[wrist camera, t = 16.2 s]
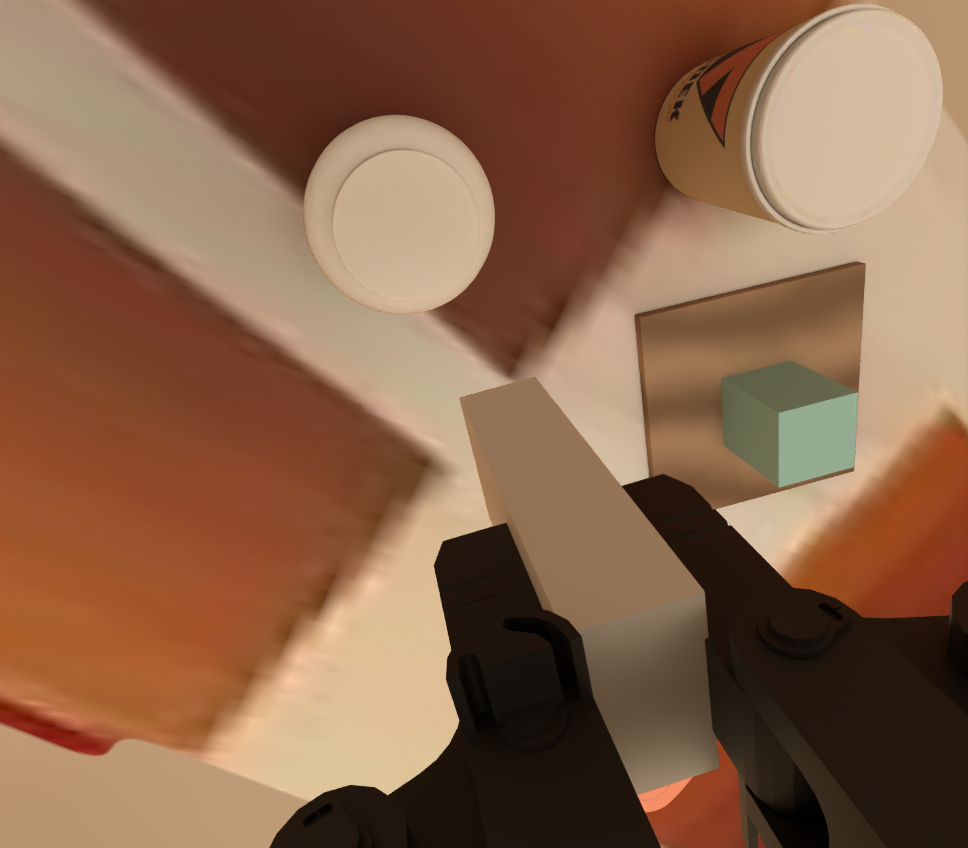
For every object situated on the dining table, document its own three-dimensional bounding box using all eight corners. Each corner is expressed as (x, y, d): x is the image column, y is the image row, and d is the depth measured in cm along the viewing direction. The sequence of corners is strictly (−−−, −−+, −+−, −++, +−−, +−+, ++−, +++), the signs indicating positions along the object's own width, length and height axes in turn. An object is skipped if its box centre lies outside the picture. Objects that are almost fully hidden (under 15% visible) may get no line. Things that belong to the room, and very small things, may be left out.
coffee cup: (739, 4, 37) (902, -56, 26) (810, 143, 41) (978, 141, 30) (610, 120, 38) (716, 108, 27) (691, 245, 42) (812, 278, 31)
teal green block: (721, 378, 45) (778, 413, 39) (790, 360, 46) (858, 392, 40) (723, 444, 47) (778, 487, 41) (790, 427, 48) (854, 467, 42)
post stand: (634, 315, 43) (675, 337, 38) (857, 261, 45) (925, 276, 39) (653, 519, 50) (689, 563, 44) (846, 466, 51) (904, 502, 46)
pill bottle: (485, 196, 38) (558, 220, 25) (397, 300, 40) (422, 374, 27) (377, 89, 35) (395, 54, 22) (284, 206, 37) (251, 239, 24)
